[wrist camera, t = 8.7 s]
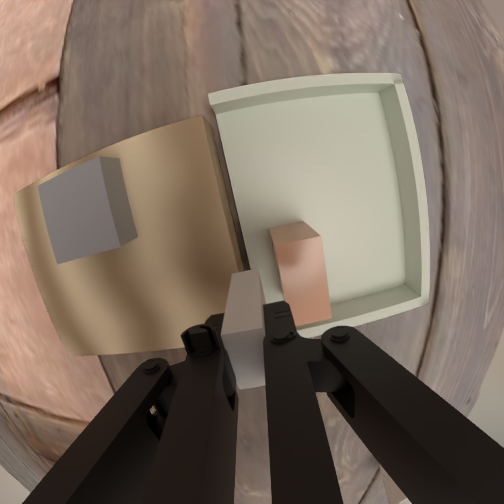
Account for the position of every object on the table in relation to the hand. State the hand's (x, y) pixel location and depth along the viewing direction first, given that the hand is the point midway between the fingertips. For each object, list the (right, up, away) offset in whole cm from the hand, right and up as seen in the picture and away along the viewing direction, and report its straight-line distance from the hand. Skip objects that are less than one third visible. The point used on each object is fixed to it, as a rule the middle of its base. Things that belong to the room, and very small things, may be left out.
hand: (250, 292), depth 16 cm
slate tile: (-10, +5, 0) cm, 11 cm away
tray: (+6, +6, +3) cm, 9 cm away
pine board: (-9, +3, +4) cm, 10 cm away
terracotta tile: (+2, +1, +2) cm, 3 cm away
